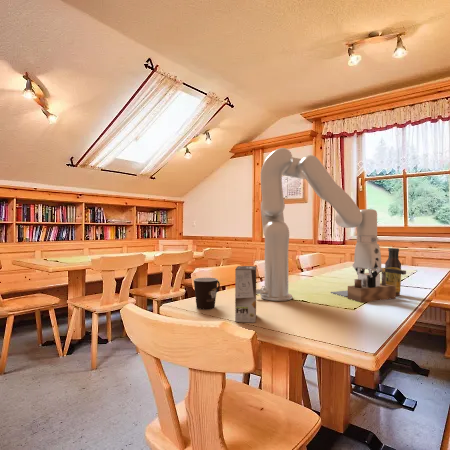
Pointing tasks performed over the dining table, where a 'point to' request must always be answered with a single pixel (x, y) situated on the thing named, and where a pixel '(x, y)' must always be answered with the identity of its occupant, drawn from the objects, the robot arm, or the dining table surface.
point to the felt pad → (341, 293)
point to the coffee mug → (206, 292)
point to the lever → (394, 271)
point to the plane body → (371, 291)
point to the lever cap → (365, 279)
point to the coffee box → (245, 294)
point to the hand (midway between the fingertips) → (366, 285)
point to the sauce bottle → (393, 264)
